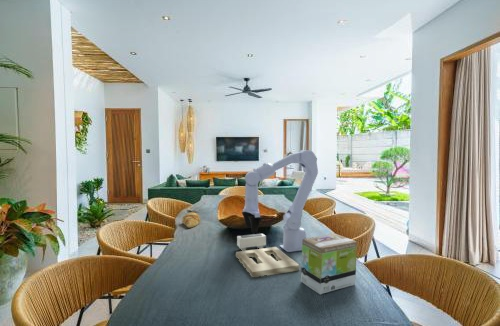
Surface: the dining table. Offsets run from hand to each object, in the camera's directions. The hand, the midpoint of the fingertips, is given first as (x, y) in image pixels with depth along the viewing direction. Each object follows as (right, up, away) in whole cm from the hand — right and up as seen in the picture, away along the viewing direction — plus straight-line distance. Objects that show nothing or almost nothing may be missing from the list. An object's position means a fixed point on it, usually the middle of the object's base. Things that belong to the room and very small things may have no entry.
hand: (251, 230), depth 123 cm
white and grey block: (0, -9, 0) cm, 9 cm away
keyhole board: (+5, -9, -15) cm, 18 cm away
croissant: (-35, -7, +42) cm, 55 cm away
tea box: (+25, -11, -31) cm, 41 cm away
